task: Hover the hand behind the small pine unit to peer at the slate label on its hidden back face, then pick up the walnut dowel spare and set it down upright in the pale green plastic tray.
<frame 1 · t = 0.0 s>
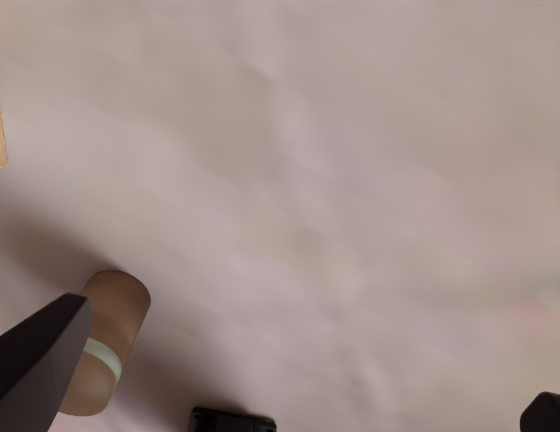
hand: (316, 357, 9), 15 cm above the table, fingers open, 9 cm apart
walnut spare: (118, 295, 30), on the table
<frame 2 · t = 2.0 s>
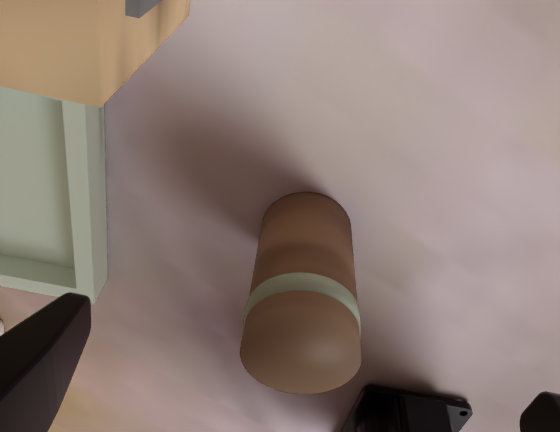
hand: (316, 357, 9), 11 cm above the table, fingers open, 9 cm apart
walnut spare: (306, 229, 21), on the table
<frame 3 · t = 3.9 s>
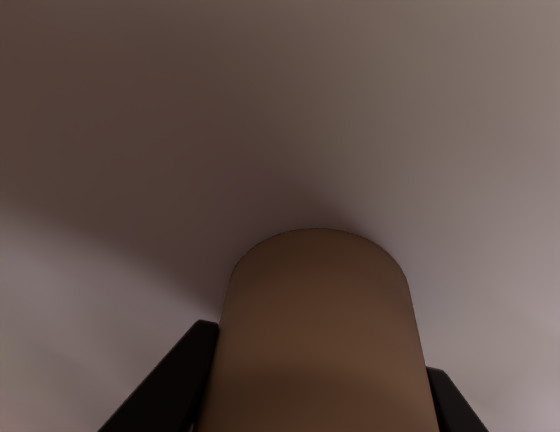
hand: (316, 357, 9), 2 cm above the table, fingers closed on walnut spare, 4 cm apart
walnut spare: (317, 301, 11), on the table, touching gripper
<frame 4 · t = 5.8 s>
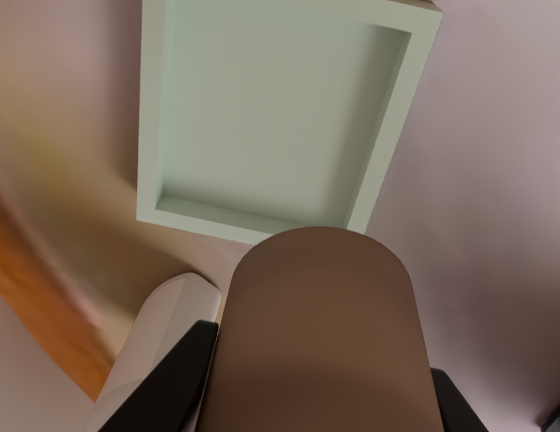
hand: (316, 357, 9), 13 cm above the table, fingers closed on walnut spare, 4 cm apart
eye dropper bottle: (181, 301, 27), on the table
green tray: (271, 116, 20), on the table
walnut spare: (319, 300, 10), point 11 cm above the table, touching gripper
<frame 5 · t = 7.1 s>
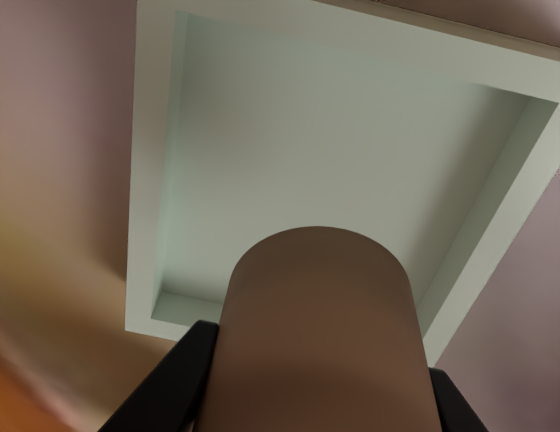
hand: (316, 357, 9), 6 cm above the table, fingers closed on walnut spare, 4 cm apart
green tray: (316, 196, 14), on the table
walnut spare: (318, 300, 10), point 4 cm above the table, touching gripper
when the fingers open (3 cm above the table, at t = 8.0 s): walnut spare stays where it is, resting on green tray.
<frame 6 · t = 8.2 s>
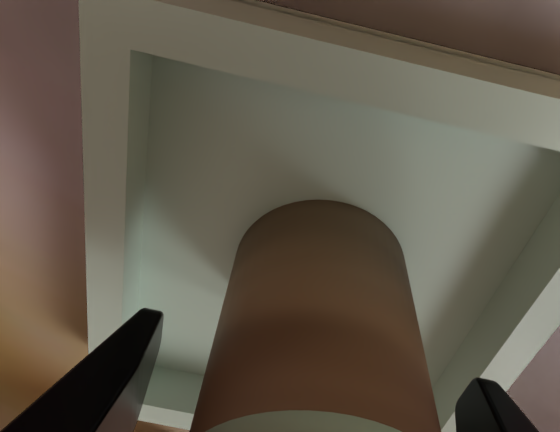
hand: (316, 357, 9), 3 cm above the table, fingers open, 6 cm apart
green tray: (316, 259, 12), on the table
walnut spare: (318, 271, 11), point 1 cm above the table, touching green tray
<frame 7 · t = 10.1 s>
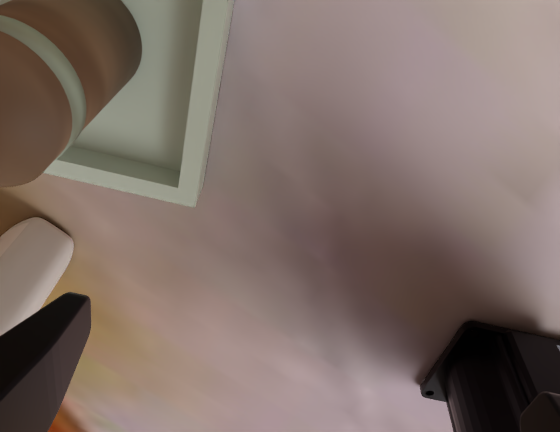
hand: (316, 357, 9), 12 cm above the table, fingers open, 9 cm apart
eye dropper bottle: (35, 250, 25), on the table
green tray: (93, 36, 18), on the table
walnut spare: (88, 38, 17), point 1 cm above the table, touching green tray
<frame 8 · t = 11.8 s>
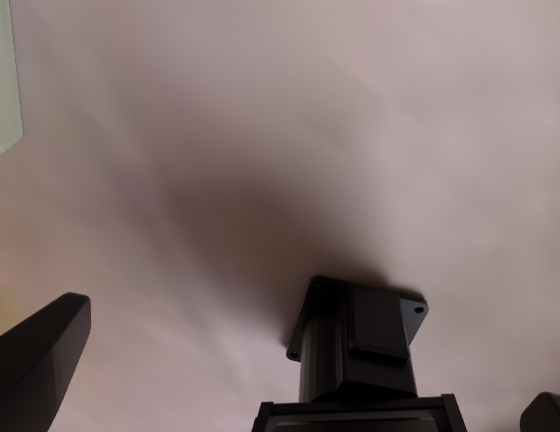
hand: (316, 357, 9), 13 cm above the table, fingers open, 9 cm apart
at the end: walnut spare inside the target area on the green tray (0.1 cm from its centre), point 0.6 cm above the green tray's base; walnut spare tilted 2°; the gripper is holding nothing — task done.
